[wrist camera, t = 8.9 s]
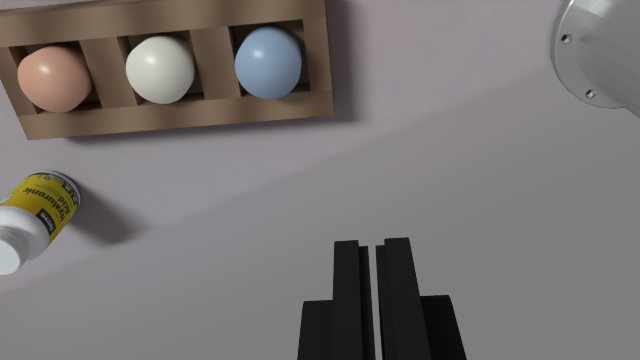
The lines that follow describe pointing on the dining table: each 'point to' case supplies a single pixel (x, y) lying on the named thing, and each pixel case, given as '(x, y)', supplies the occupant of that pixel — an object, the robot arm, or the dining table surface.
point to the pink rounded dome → (56, 77)
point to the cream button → (162, 67)
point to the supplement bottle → (34, 217)
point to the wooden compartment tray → (191, 24)
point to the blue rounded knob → (269, 62)
